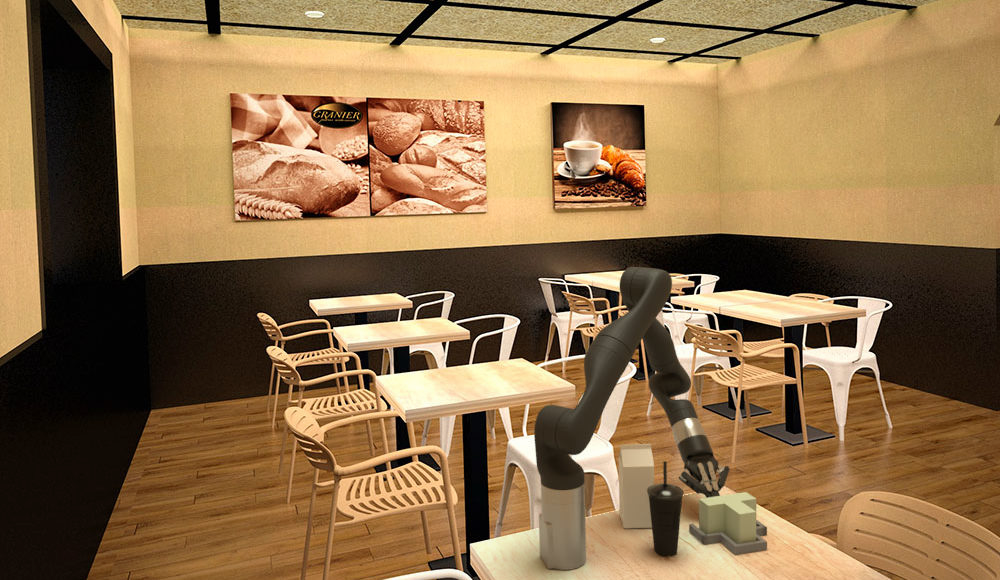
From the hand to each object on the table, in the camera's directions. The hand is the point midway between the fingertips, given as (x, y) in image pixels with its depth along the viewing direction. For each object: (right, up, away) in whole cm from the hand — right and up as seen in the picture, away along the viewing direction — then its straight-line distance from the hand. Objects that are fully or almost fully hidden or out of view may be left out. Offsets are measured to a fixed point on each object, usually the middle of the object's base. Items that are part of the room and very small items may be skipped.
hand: (717, 508), depth 165 cm
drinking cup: (-15, -6, -11) cm, 19 cm away
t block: (+2, -5, -6) cm, 8 cm away
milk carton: (-18, -4, +3) cm, 19 cm away
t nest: (+2, -5, -6) cm, 8 cm away
